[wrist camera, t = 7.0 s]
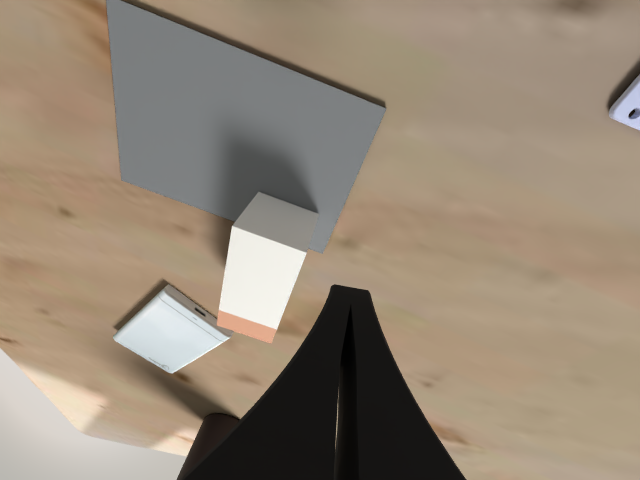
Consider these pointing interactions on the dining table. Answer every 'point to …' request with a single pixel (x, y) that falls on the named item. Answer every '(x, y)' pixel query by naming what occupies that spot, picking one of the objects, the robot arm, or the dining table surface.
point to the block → (263, 265)
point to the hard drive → (171, 331)
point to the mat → (230, 123)
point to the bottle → (207, 438)
